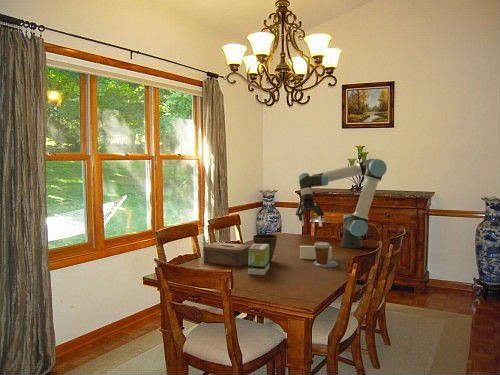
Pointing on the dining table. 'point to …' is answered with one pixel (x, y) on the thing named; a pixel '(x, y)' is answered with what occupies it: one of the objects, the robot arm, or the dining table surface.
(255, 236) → the plant pot
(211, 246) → the tissue box cover
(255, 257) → the tea box
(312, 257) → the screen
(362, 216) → the robot arm
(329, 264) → the plate
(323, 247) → the disposable coffee cup
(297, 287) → the dining table surface
